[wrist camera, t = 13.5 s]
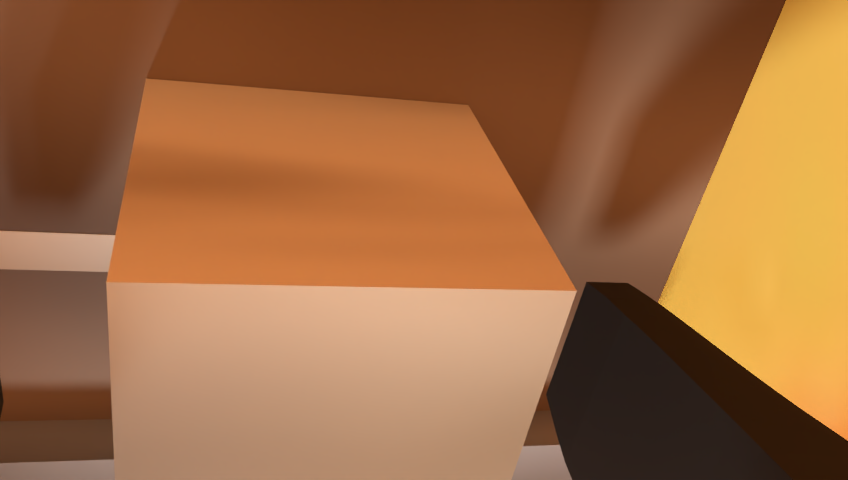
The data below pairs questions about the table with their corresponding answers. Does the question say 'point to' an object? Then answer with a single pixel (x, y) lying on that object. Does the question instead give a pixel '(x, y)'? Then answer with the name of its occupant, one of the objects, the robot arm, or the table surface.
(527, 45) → the walnut board
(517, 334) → the block
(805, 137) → the table surface
